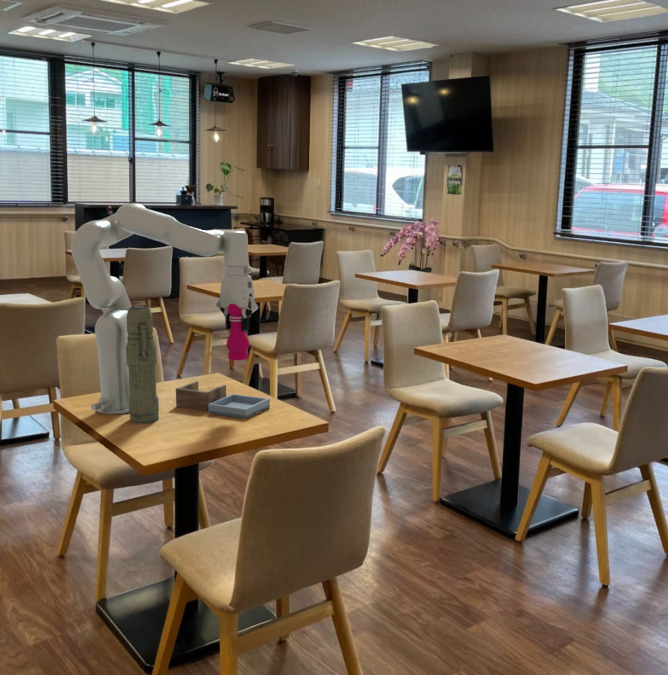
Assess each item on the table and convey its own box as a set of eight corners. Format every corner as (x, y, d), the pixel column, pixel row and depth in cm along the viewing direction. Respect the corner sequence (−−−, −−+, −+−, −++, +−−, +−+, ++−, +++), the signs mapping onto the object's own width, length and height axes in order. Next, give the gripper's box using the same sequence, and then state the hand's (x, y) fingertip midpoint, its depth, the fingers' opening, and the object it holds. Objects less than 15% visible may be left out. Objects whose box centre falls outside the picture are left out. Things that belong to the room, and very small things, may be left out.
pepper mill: (222, 359, 251) (220, 296, 247) (234, 355, 257) (232, 293, 254) (242, 361, 248) (241, 297, 244) (253, 357, 255) (252, 294, 251)
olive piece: (152, 412, 254) (147, 302, 247) (164, 422, 244) (159, 307, 237) (124, 416, 249) (118, 305, 243) (135, 426, 239) (130, 310, 233)
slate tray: (246, 418, 247) (246, 409, 246) (208, 413, 253) (208, 404, 252) (269, 407, 259) (269, 398, 259) (233, 402, 265) (232, 393, 265)
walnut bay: (207, 411, 255) (206, 392, 254) (176, 406, 261) (175, 388, 260) (226, 402, 265) (225, 385, 264) (196, 398, 270) (195, 381, 269)
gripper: (266, 271, 247) (267, 329, 251) (219, 268, 255) (221, 325, 258) (253, 273, 241) (254, 333, 244) (206, 271, 248) (207, 329, 251)
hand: (237, 328), depth 251 cm, fingers closed on pepper mill, 5 cm apart
